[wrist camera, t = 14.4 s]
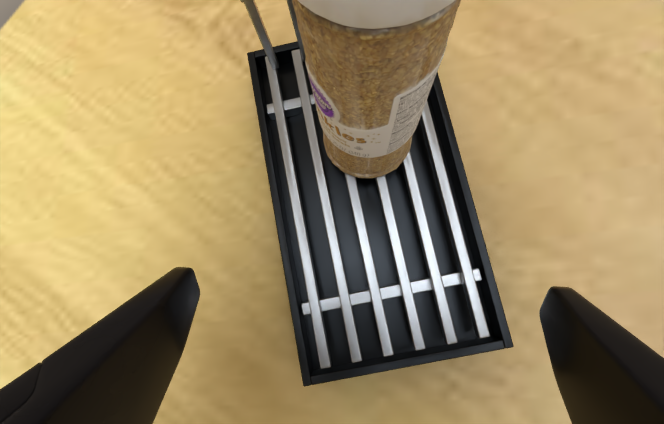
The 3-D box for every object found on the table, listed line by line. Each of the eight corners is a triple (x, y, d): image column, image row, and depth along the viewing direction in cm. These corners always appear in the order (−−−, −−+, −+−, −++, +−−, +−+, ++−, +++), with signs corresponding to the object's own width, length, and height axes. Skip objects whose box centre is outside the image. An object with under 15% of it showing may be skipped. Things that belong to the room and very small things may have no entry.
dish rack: (309, 374, 20) (275, 438, 12) (257, 73, 23) (204, -31, 15) (496, 339, 19) (588, 381, 11) (415, 37, 23) (443, -88, 15)
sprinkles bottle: (306, 142, 19) (185, -154, 6) (365, 81, 20) (373, -325, 6) (371, 200, 18) (394, 3, 5) (431, 135, 19) (596, -202, 6)
